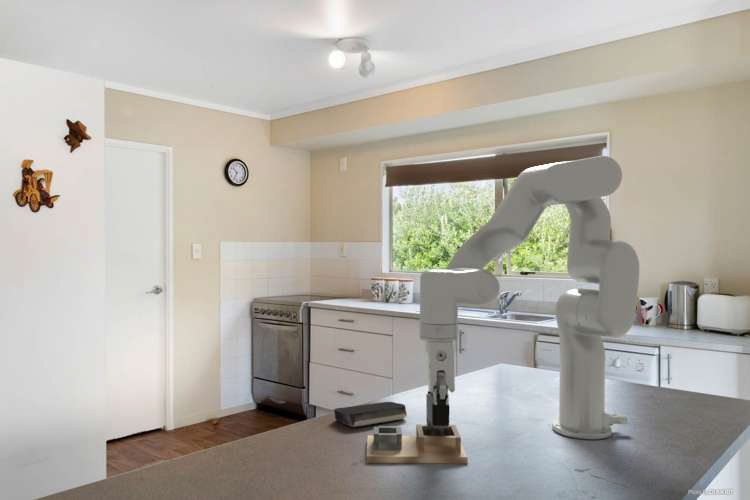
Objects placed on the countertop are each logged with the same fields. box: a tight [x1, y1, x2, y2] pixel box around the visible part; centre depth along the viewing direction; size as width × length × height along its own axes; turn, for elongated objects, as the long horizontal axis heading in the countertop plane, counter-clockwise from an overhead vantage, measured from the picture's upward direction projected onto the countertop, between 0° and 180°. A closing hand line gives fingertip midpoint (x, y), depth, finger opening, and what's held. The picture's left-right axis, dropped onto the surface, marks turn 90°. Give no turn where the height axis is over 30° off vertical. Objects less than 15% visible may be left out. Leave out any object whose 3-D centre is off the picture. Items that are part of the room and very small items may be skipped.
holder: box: [366, 424, 469, 465], centre depth 114 cm, size 19×12×4 cm, turn 90°
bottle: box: [425, 391, 450, 436], centre depth 114 cm, size 4×4×12 cm
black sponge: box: [333, 401, 407, 428], centre depth 135 cm, size 16×8×4 cm, turn 119°
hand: (437, 417), depth 114 cm, fingers open, 9 cm apart
